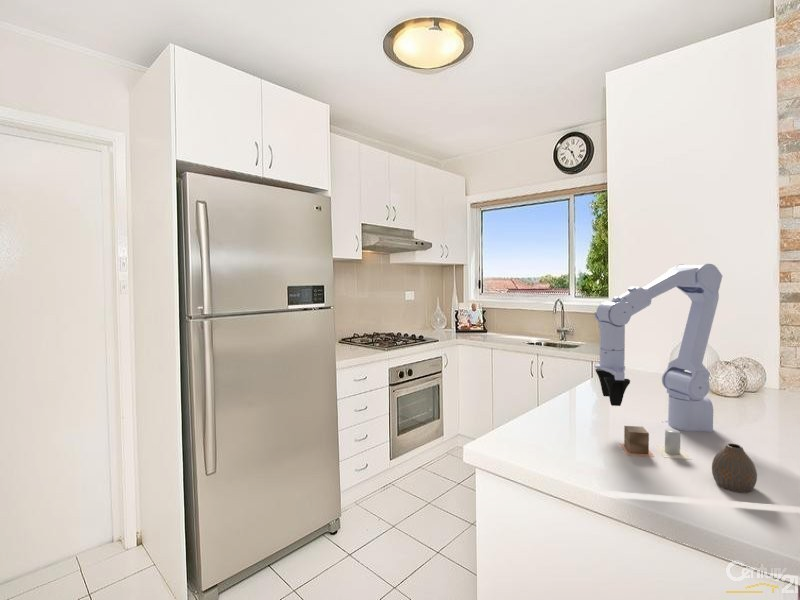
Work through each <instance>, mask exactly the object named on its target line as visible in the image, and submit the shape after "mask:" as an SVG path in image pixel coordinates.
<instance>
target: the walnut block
mask: <svg viewBox="0 0 800 600" xmlns="http://www.w3.org/2000/svg"><path fill="white" fill-rule="evenodd" d="M623 429H624V430H623V433H624V434H623V435H624V437H623V441H624V442H623V444H624V446H625V448H626V449H627V450H628V452H629V453H635V454H649V451H650V449H649V448H650V447H649V446H650V445H649V444H650V443H649V440H650V433H649V432H648V430H646V429H645V427H644V426H639V425H638V426H636V425H624V428H623Z"/></svg>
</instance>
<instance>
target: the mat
mask: <svg viewBox="0 0 800 600" xmlns="http://www.w3.org/2000/svg"><path fill="white" fill-rule="evenodd" d="M619 445H620V447H622V449H623V450H624V452H625V453H626V455H627V456H633V457H634V456H636V457H637V456H638V457H639V456H640V457H651V458H652V457H653V458H654V457H655V455H653V453H652V452H651V450H649V454H635V453H629V452H628V450H627V449H626V448H625V446H624V443H620V444H619ZM654 448H655V449H656V450H657V451H658V452H659V454H660V455H661V456H662V458H668V459H684V460H692V457H690V456H689V455H688V454H687V452H685V451H684V450H683V449H682V448H681V447H680V455H671V454H668V453H666V452H665V446H659V445H657V446H656V445H654Z"/></svg>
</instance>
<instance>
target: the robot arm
mask: <svg viewBox="0 0 800 600" xmlns="http://www.w3.org/2000/svg"><path fill="white" fill-rule="evenodd" d="M722 279H723V275H722V273H721V272H720V270H719V268H718V267H717V266H716V265H715V264H713V263H705V264H703V263H702V264H684V263H682V264H681V263H679V264H677V265H675V266H674V267H670V268H668V270H667V272H665V273H664V274H662V275H661V276H660V277H659V276H658V278H656V279H655V280H653V281H652V282H650V283H648V284H647V285H645V286H643V287H640V286H630V287H628V288H627V291H626V292H624V293H622V294H621V295H619V296H617V295H616V296H614V297H612V300H611V301H604V302H602V303H600V304H599V305H598V307H597V309H596V311H594V317H595V320H596V321H597V323H598V328H599V363H598V364H594V369H595V372H596V374H597V376H598V379H599V384H600V387H601V393H602V396H603V397H608V398H609V403H610V405H611V406H613V407H614V406H615V407H621V406H622V403H623V398H624V395H625V392H626V389H627V388H628V386H630V384H631V380H630V379H629V378H625V377H626V375H625V371H626V366H625V357H626V356H625V347H626V346H625V345H626V344H625V342H626V336H625V335H626V333H625V332H626V325H628V323H629V322H630V320H631V318H632V316H634V315H635V314H637V313H639V312H640V311H642V310H644V309H647V307H649V306H650V305H651V304H652V299H654V298H657V297H658V296H660V295H662V294H665V293H666V292H669V291H670V290H672V289H674V288H677V289H678V290H679V291H681V292H682V293H683V294H684V295H686V296H687V297H688V298H689V299H690V301H691V303H690V307H689V308H690V309H689V313H688V317H687V320H686V324H685V328H684V332H683V335H682V339H681V340H682V341H681V344H680V347H679V350H678V355H677V357H676V358H675V359H673V360H672V361H670V362H668V365H667V368H666V369H665V370H664V372H663V374H662V377H661V383H662V386H663V387H664V388H665V389H666V393H667V394H668V405H667V406H668V413H667V415H668V416H667V419H668V420H661V421H662V422H661V423H665V424H667V425H668V426H670V427H671V428H672V429H675V430H678V431H679V430H680V431H687V432H714V406H713V402H712V400H711V399H710V398H709V397H707V395H708V394H709V392H710V389H711V388H710V386H711V385H710V375H711V373H710V371H709V370H708V369H707V368H706V366H705V365H704V363H703V361H704V358H705V353H706V350H707V345H708V341H709V338H710V334H711V331H712V328H713V327H712V326H713V323H714V319H715V314H716V311H717V306H718V304H719V298H720V296H719V290H720V288H721V283H722Z"/></svg>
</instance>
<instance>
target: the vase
mask: <svg viewBox="0 0 800 600" xmlns="http://www.w3.org/2000/svg"><path fill="white" fill-rule="evenodd" d="M757 471H758V470H757V469H756V466H755V463H754V461H752V459H751V458H750V456H749V455H748V454H747V452H745V450H744V448H743V446H741V445H740V444H736V443H727V444H726V445H725V447H724V448H722V449H721V450H720V451H719V452H717V453H716V454H715V456H714V457H713V459H712V463H711V473H712V477H713V479H714V481H715V483H716V484H717V485H718V486H720V487H721V488H723V489H726V490H727V491H732V492H736V493H742V494H743V493H750V492H751V491H753V490H754V488H755V486H756V485H757V481H758V473H757Z"/></svg>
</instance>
